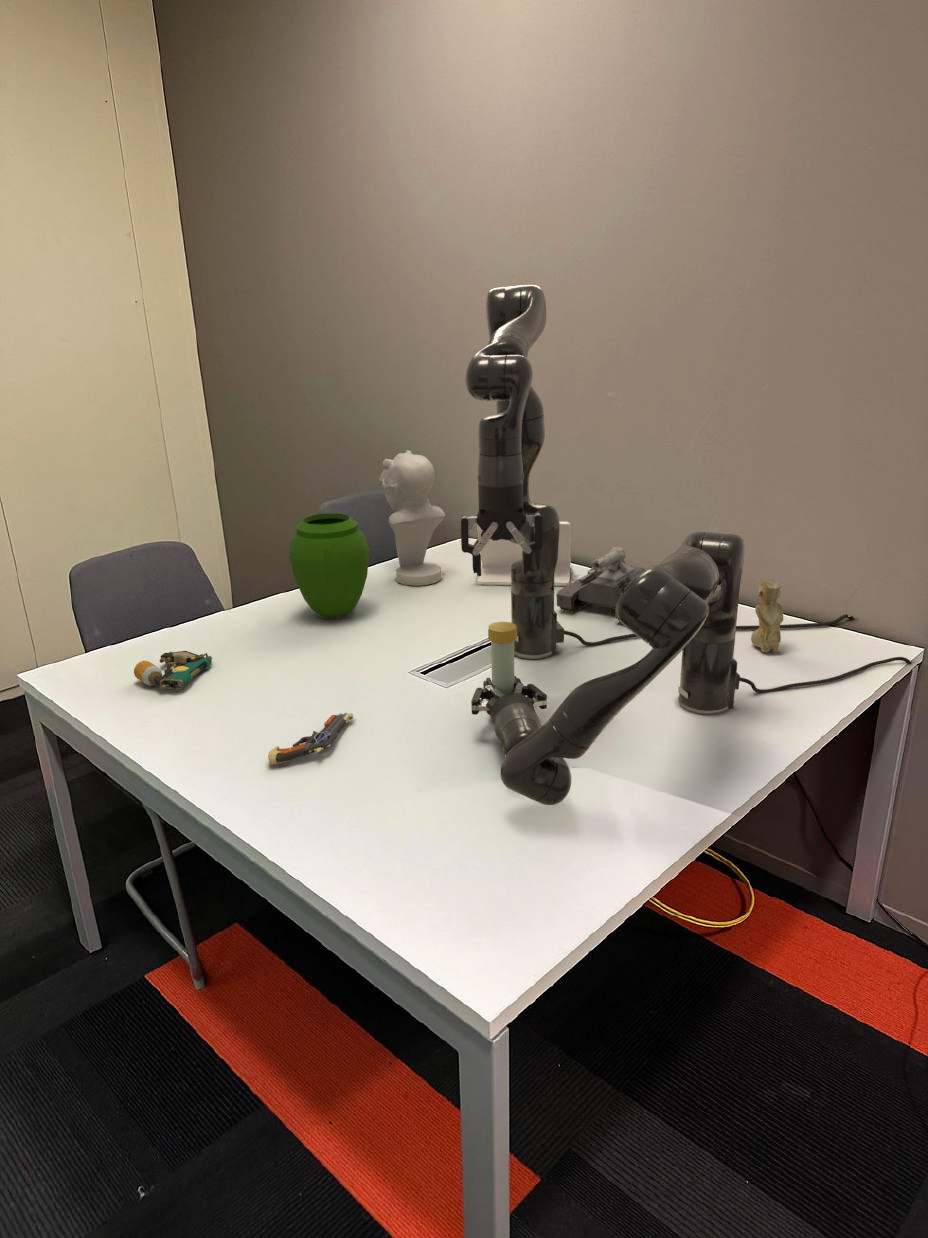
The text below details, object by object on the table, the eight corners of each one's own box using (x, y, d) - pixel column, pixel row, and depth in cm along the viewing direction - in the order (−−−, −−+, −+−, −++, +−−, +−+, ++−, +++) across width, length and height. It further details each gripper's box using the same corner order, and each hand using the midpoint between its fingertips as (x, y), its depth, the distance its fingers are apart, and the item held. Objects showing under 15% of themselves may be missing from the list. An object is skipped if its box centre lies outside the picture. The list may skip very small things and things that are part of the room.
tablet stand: (569, 585, 229) (570, 524, 223) (476, 584, 232) (475, 523, 226) (570, 566, 246) (571, 508, 240) (484, 564, 249) (483, 507, 243)
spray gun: (177, 659, 191) (231, 671, 185) (120, 684, 176) (176, 698, 171) (176, 641, 190) (230, 653, 184) (118, 665, 175) (174, 678, 169)
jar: (511, 713, 160) (510, 623, 154) (517, 723, 157) (516, 631, 150) (490, 716, 159) (488, 626, 153) (495, 726, 156) (494, 634, 149)
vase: (389, 608, 216) (383, 514, 208) (339, 633, 201) (330, 533, 192) (330, 596, 226) (322, 506, 218) (278, 619, 211) (267, 523, 202)
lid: (512, 632, 155) (512, 620, 154) (520, 642, 150) (520, 629, 150) (485, 635, 154) (484, 623, 153) (492, 645, 149) (492, 633, 149)
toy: (603, 584, 229) (605, 530, 224) (673, 597, 218) (677, 540, 213) (555, 612, 210) (556, 553, 205) (630, 627, 199) (633, 566, 194)
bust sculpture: (418, 559, 256) (413, 441, 244) (456, 580, 236) (452, 453, 224) (369, 568, 249) (360, 447, 237) (403, 590, 229) (396, 460, 217)
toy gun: (262, 754, 143) (318, 752, 141) (303, 710, 161) (353, 708, 159) (266, 769, 144) (321, 767, 142) (306, 724, 162) (356, 721, 160)
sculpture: (772, 641, 189) (778, 577, 184) (784, 654, 182) (792, 587, 177) (746, 642, 189) (752, 578, 183) (758, 655, 182) (764, 588, 177)
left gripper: (540, 474, 146) (540, 566, 152) (457, 477, 146) (459, 569, 151) (546, 483, 139) (545, 579, 145) (458, 486, 138) (461, 582, 144)
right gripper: (559, 700, 142) (538, 660, 158) (474, 707, 140) (462, 665, 156) (558, 740, 144) (538, 696, 160) (475, 747, 143) (463, 702, 159)
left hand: (501, 573), depth 148 cm, fingers open, 7 cm apart
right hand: (500, 681), depth 158 cm, fingers closed on jar, 4 cm apart
